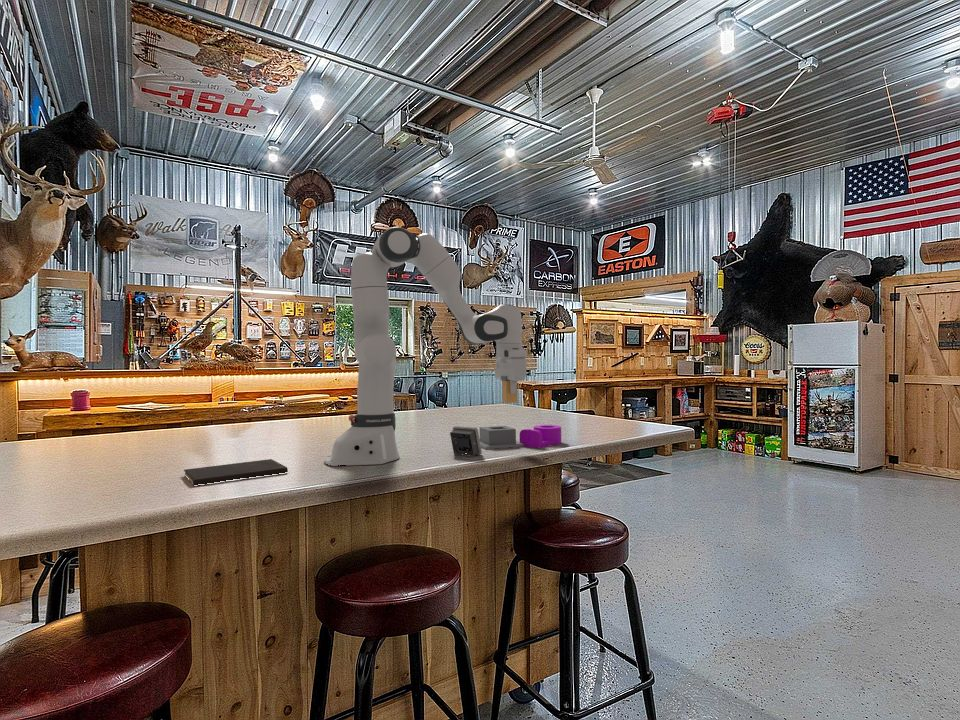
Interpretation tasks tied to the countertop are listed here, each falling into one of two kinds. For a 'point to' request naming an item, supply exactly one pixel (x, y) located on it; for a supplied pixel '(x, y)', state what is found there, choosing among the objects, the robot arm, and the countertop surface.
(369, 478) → the countertop surface
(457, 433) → the electrical switch
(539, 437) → the tape dispenser
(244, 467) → the hardcover book
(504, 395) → the tan jar
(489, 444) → the socket
